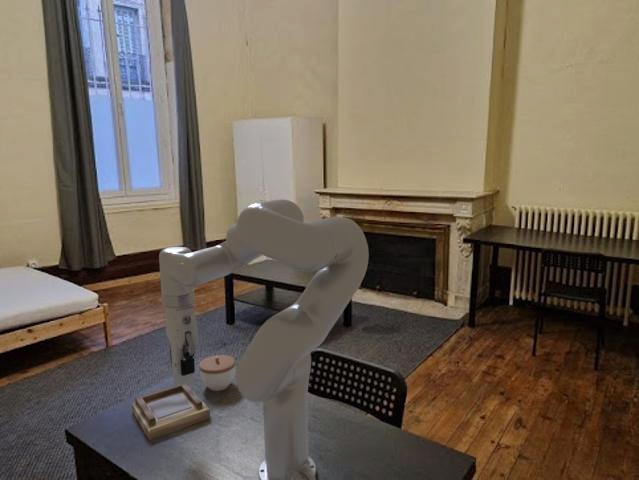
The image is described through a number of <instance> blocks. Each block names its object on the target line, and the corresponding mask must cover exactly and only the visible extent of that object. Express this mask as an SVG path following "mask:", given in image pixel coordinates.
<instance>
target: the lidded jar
mask: <svg viewBox="0 0 639 480" xmlns="http://www.w3.org/2000/svg"><path fill="white" fill-rule="evenodd" d="M198 368H199V374H200V378H201V381H202V383H203V384H204V385H205V386H206V388H208V389H209V390H211V391H212V392H213V391H214V392H220V391H223V390H226V389H227V388H228V387H229V385H231V383H232V382H233V380H234V377H235V376H236V360H235V358H234V357H232V356H231V355H228V354H227V355H226V354H216V355H211V356H208V357H205V358H203V359H202V360H201V361H200V362H199V364H198Z"/></svg>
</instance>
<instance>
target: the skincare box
mask: <svg viewBox="0 0 639 480" xmlns="http://www.w3.org/2000/svg"><path fill="white" fill-rule="evenodd" d="M182 346H183V347H185V346H187V344H186V343H184V344H183V345H182ZM187 351H188V349H184V353H186V352H187ZM171 358H172V364H171V377H172V380H173V382H174V384H175V385H176V386H181V385H186V384H187V385H189V384H192V383H194V380H195V379H194V378H195V377H194V373H191V374H188V375H185V376H182V375H181V363H180V360H182V357H181V352H180V349H179V348H177V344H176V340H175V343H174V344H173V343H172V342H171V357H170V359H171Z"/></svg>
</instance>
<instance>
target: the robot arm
mask: <svg viewBox="0 0 639 480" xmlns="http://www.w3.org/2000/svg"><path fill="white" fill-rule="evenodd" d="M225 236H226V237H225V241H223V242H221V243H220V244H217V245H215V246H211V247H207V248H203V249H199V250H196V251H192V250H191V249H190V248H189V247H185V246H171V247H166V248H163V249H162V250H160V252H159V255H158V263H159V276H160V290H161V306H162V307H161V308H163V309H164V310H165V311H164V313H165V314H164V315H165V319H164V320H165V333H166V337H167V339H168V340H169V351H170V352H169V354H170V364H171V365H172V358H171V342H172V343H173V344H174V343H175V340H176V344H177V348H179V349H180V352H181V357H182V360H180V363H181V375H182V376H185V375H188V374H191V373H193V374H195V372H196V370H195V354H196V350H197V349H196V346H198V345H199V342H200V341H199V330H198V322H197V321H198V320H197V316H196V315H197V314H196V310H195V307H194V306H195V304H196V295H195V287H198V286H201V285H203V284H206V283H209V282H212V281H214V280H218V279H221V278H223V277H227V276H228V275H231V274H232V273H234V272H236V271H238V270H240V269H242V268H243V267H245V266H247V265H249V264H251V263H252V262H253V261H254V260H256V259H258V258H260V257H262V256H265V257H267V258H268V259H271V260H273V261H276V262H278V263H280V264H283V265H284V266H287V267H290V268H292V269H295V270H297V271H300V272H307V273H313V272H316V273H315V274H314V275H313V276H312V278H311V279H310V281H309V282H308V284H307V286H306V287H305V289H304V291H303V292H302V293H301V295H300V296H299V298H298V299H297V300H296V301H295V302H294V303H293V304H292V305H290V306H289V307H286V308H285V309H283V310H281V311H280V312H278V313H276V314H274V315H272V316H271V317H269V318H268V319H267V320H266V321H265V322H264V323H263V324H262V325H261V326H260V327H259V329H258V330H257V332H256V333H255V335H254V337H253V339H252V340H251V342H249V343H250V344H249V345H248V347H247V349H246V350H245V352H244V353H243V355H242V356H241V359H240V360H239V362H238V365H237V368H236V370H235V381H236V385H237V389H238V391H239V392H240V394H241V395H242V397H244V398H245V399H246V400H247V401H250V402H252V403H256V404H257V403H258V404H259V403H262V407H263V408H262V409H263V413H262V414H263V436H264V438H263V439H264V458H265V459H264V460H263V461H262V462H261V464H259V468H258V478H259V480H316V475H317V474H316V473H317V468H316V467H317V466H316V463H315V462H314V460H313V459H312V458H311V457H310V456H309V455H310V453H309V418H308V417H309V416H308V415H309V413H308V412H309V409H308V408H309V406H308V404H309V402H308V399H309V398H308V395H309V391H308V390H309V382H310V374H311V366H312V355H311V352H313V351H314V350H315V349H317V348H318V347H319V346H321V344H323V342H324V341H325V339H326V338H327V337H328V335H329V334H330V331H331V330H332V329H333V327H334V326H335V324H336V323H337V321H338V320H339V318H340V316H341V315H342V314H343V312H344V310H345V309H346V308H347V306H348V304H350V302H351V300H352V299H353V297H354V295H355V294H356V293H357V290H359V288H360V286H361V284H362V282H363V280H364V278H365V275H366V272H367V269H368V265H369V257H370V256H369V254H370V253H369V245H368V242H367V238H366V236H365V233H364V231H363V230H362V228H361V227H360V225H359V224H357V223H356V221H354V220H352V219H351V218H349V217H344V216H330V217H326V218H322V219H317V220H314V221H310V222H305V218H304V214H303V211H302V209H301V208H300V207H299V206H298V204H296V203H295V202H294V201H291V200H289V199H283V198H282V199H281V198H280V199H272V200H268V201H261V202H256V203H252V204H250V205H248V206H247V207H245V208H243V210H242V211H241V212H240V214H239V216H238V218H237V220H236V223H234V224H233V225H231V226H230V227H229V228H228V230H227V232H226V235H225ZM184 343H186V344H187V346H185V347H183V346H182V345H183V344H184ZM184 349H188V351H187V352H186V353H184Z"/></svg>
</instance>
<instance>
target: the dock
mask: <svg viewBox="0 0 639 480" xmlns="http://www.w3.org/2000/svg"><path fill="white" fill-rule="evenodd" d="M134 399H135V400H134V401H135V402H132V403H131V408H132V413H133V414H134V416H135V418H136V420H137V421H138V423H139V425H140V427H141V428H142V430H143V433H145V435H146V437H147V439H148V440H149V441H152V440H154V439H157V438H160V437H162V436H165V435H167V434H170V433H173V432H176V431H179V430H182V429H185V428H187V427H189V426H192V425H195V424H197V423H201V422H203V421H205V420H209V419H211V409H210V408H209V407H208V405H206V403H205V402H203V400H202V399H201V398H200V396H198V395H197V394H196V392H195V391H194V390H193V389H192V388H191V387H190V386H189V384H186V385H181V386H176V384H175V385H171V386H168V387H164V388H162V389H161V388H160V389H158V390H155V391H151V392H149V393H145V394H142V395H139V396H135V397H134Z"/></svg>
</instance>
